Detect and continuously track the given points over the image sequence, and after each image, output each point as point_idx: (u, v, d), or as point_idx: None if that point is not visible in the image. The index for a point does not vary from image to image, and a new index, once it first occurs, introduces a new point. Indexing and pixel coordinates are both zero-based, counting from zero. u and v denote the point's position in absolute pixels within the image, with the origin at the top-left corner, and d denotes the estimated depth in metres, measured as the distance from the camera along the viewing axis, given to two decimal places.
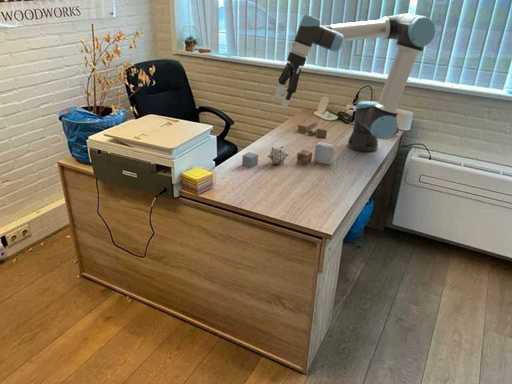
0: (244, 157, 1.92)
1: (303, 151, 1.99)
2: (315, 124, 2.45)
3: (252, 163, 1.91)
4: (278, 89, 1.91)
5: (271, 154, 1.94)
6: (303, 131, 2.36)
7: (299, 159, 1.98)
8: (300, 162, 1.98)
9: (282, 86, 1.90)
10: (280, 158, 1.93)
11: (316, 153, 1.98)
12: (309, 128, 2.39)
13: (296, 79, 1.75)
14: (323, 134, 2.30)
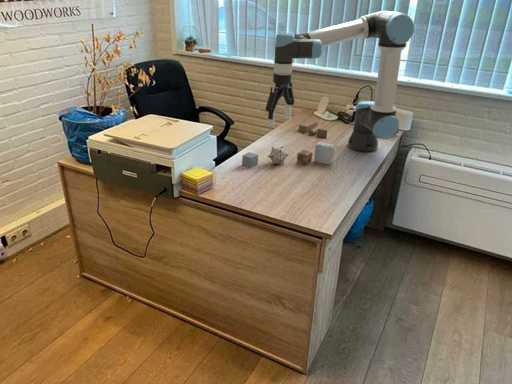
0: (244, 157, 1.92)
1: (303, 151, 1.99)
2: (316, 124, 2.45)
3: (252, 163, 1.91)
4: (285, 110, 1.92)
5: (271, 154, 1.94)
6: (304, 131, 2.36)
7: (299, 159, 1.98)
8: (300, 162, 1.98)
9: (288, 106, 1.90)
10: (280, 158, 1.93)
11: (316, 153, 1.98)
12: (310, 128, 2.39)
13: (271, 98, 1.77)
14: (324, 134, 2.30)
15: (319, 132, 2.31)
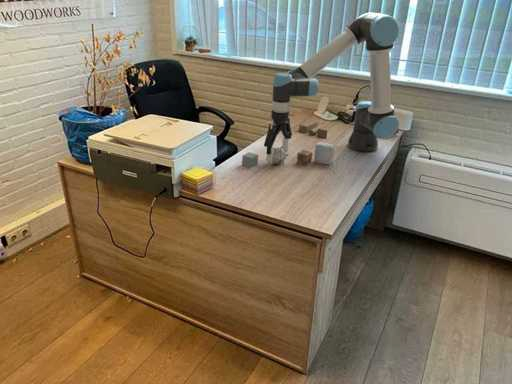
0: (244, 157, 1.92)
1: (303, 151, 1.99)
2: (317, 124, 2.45)
3: (252, 163, 1.91)
4: (283, 143, 1.99)
5: None
6: (304, 131, 2.36)
7: (299, 159, 1.98)
8: (300, 162, 1.98)
9: (286, 140, 1.98)
10: (280, 158, 1.93)
11: (316, 153, 1.98)
12: (310, 128, 2.39)
13: (270, 134, 1.84)
14: (324, 134, 2.30)
15: (319, 132, 2.31)
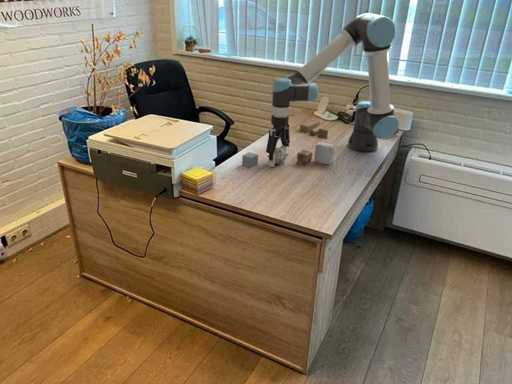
0: (244, 157, 1.92)
1: (303, 151, 1.99)
2: (318, 124, 2.45)
3: (252, 163, 1.91)
4: None
5: None
6: (305, 131, 2.36)
7: (299, 159, 1.98)
8: (300, 162, 1.98)
9: (284, 148, 1.98)
10: (280, 158, 1.93)
11: (316, 153, 1.98)
12: (311, 128, 2.39)
13: (270, 141, 1.86)
14: (324, 134, 2.30)
15: (320, 132, 2.31)
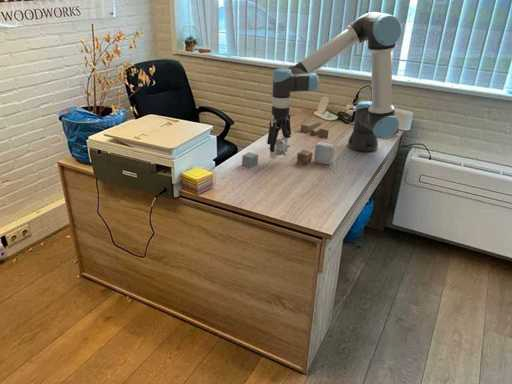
0: (244, 157, 1.92)
1: (303, 151, 1.99)
2: (319, 124, 2.45)
3: (252, 163, 1.91)
4: None
5: None
6: (305, 131, 2.36)
7: (299, 159, 1.98)
8: (300, 162, 1.98)
9: (285, 139, 1.96)
10: (281, 149, 1.91)
11: (316, 153, 1.98)
12: (312, 128, 2.40)
13: (271, 132, 1.84)
14: (325, 134, 2.30)
15: (320, 132, 2.31)
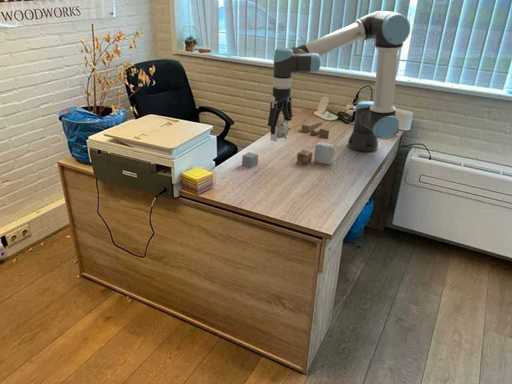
0: (244, 157, 1.92)
1: (303, 151, 1.99)
2: (320, 124, 2.45)
3: (252, 163, 1.91)
4: None
5: None
6: (306, 131, 2.36)
7: (299, 159, 1.98)
8: (300, 162, 1.98)
9: (286, 122, 1.92)
10: (282, 132, 1.87)
11: (316, 153, 1.98)
12: (313, 128, 2.40)
13: (272, 114, 1.81)
14: (325, 134, 2.30)
15: (321, 132, 2.31)
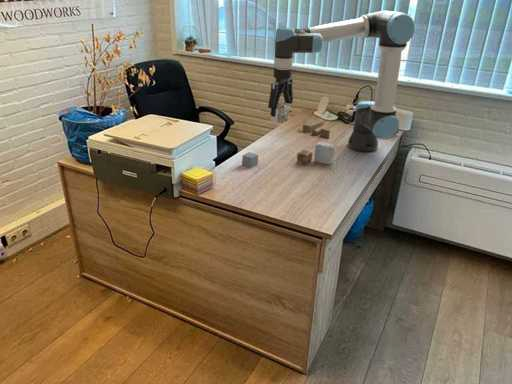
0: (244, 157, 1.92)
1: (303, 151, 1.99)
2: (321, 124, 2.45)
3: (252, 163, 1.91)
4: None
5: None
6: (307, 131, 2.37)
7: (299, 159, 1.98)
8: (300, 162, 1.98)
9: (287, 105, 1.89)
10: (283, 114, 1.84)
11: (316, 153, 1.98)
12: (314, 128, 2.40)
13: (273, 95, 1.77)
14: (326, 134, 2.30)
15: (322, 132, 2.31)
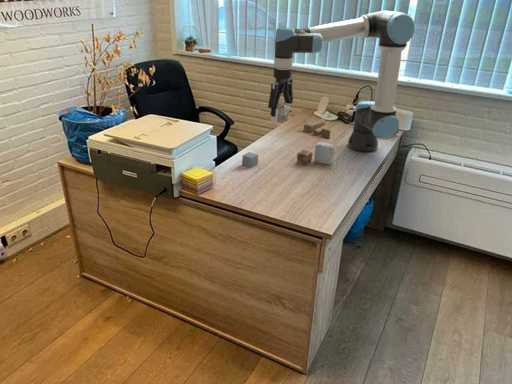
0: (244, 157, 1.92)
1: (303, 151, 1.99)
2: (323, 124, 2.45)
3: (252, 163, 1.91)
4: None
5: None
6: (308, 130, 2.37)
7: (299, 159, 1.98)
8: (300, 162, 1.98)
9: (287, 105, 1.89)
10: (283, 114, 1.84)
11: (316, 153, 1.98)
12: (315, 128, 2.40)
13: (273, 95, 1.77)
14: (327, 134, 2.30)
15: (323, 132, 2.31)
